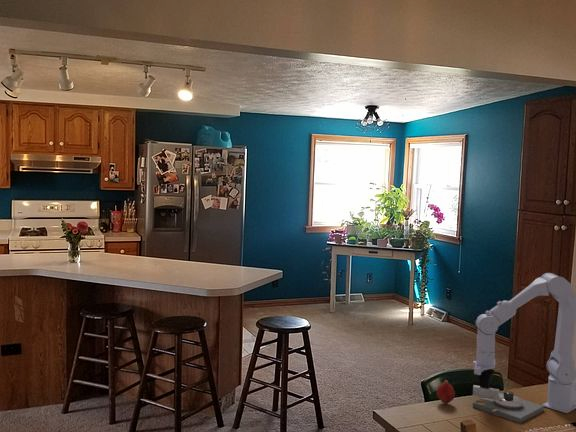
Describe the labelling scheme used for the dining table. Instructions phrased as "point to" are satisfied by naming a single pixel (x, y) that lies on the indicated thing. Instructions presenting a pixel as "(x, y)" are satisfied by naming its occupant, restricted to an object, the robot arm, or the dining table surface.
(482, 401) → the dial plate
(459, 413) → the dining table surface
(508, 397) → the dial
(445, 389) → the onion
